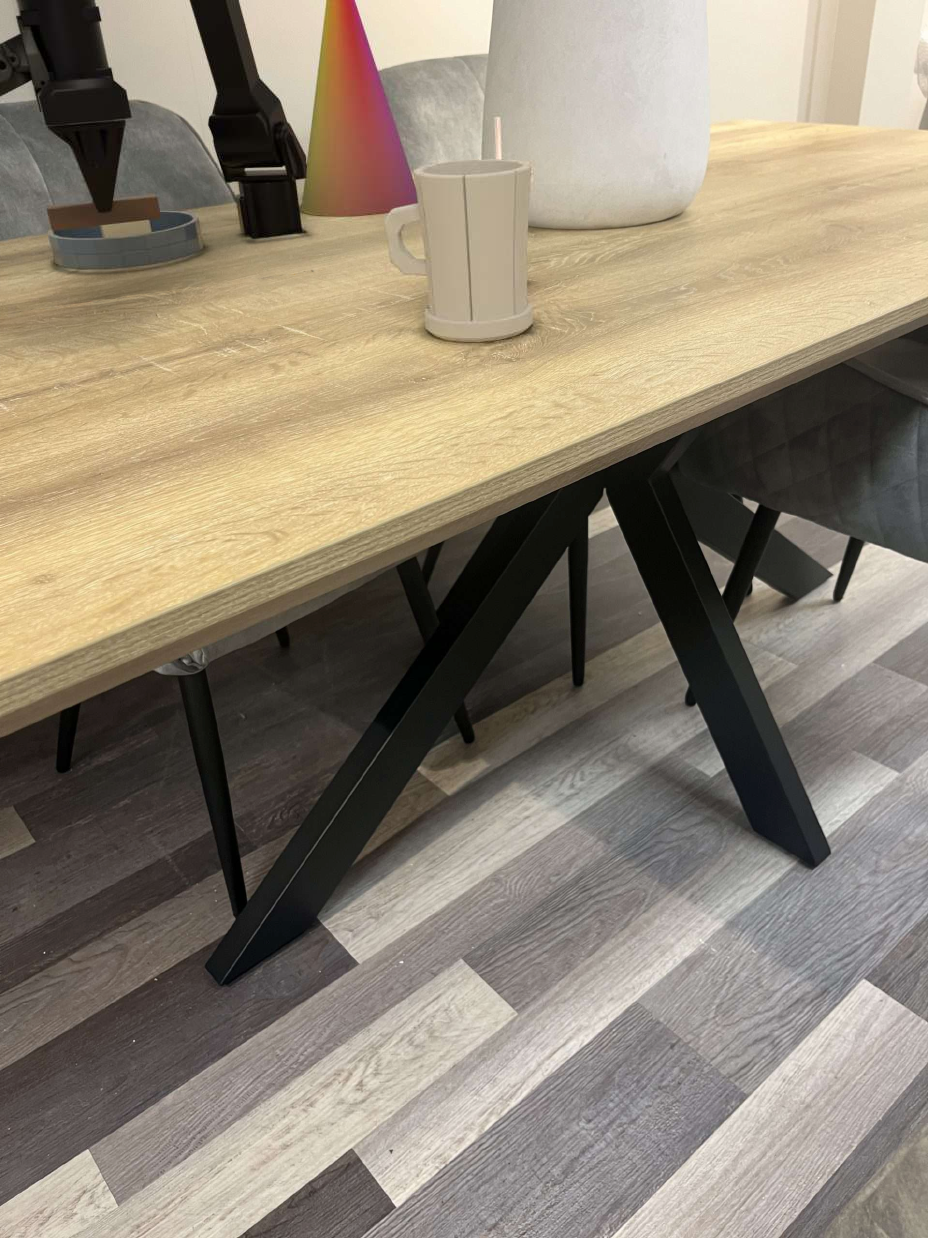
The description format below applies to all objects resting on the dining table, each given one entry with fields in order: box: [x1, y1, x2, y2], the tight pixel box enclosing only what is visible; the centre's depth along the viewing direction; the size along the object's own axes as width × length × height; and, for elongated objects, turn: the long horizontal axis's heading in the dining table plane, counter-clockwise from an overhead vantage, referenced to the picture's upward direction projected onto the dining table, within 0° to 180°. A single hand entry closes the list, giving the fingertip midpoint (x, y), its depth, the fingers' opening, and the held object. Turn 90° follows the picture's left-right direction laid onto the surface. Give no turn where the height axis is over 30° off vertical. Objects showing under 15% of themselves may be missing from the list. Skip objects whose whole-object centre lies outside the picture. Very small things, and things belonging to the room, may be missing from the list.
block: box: [100, 220, 151, 238], centre depth 110 cm, size 5×5×5 cm
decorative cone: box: [300, 0, 418, 217], centre depth 126 cm, size 16×16×30 cm
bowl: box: [47, 210, 205, 271], centre depth 111 cm, size 16×16×4 cm
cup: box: [383, 158, 534, 343], centre depth 77 cm, size 10×9×12 cm
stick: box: [45, 193, 161, 231], centre depth 84 cm, size 9×2×2 cm, turn 112°
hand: (103, 209), depth 84 cm, fingers closed on stick, 2 cm apart
